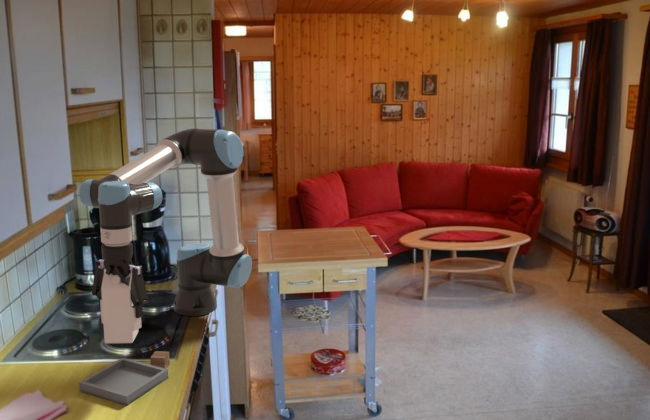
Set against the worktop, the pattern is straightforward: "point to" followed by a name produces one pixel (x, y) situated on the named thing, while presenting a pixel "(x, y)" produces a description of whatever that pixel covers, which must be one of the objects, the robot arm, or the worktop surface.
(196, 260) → the robot arm
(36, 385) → the worktop surface
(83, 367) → the worktop surface
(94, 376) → the tray
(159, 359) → the walnut block
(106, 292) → the milk carton
